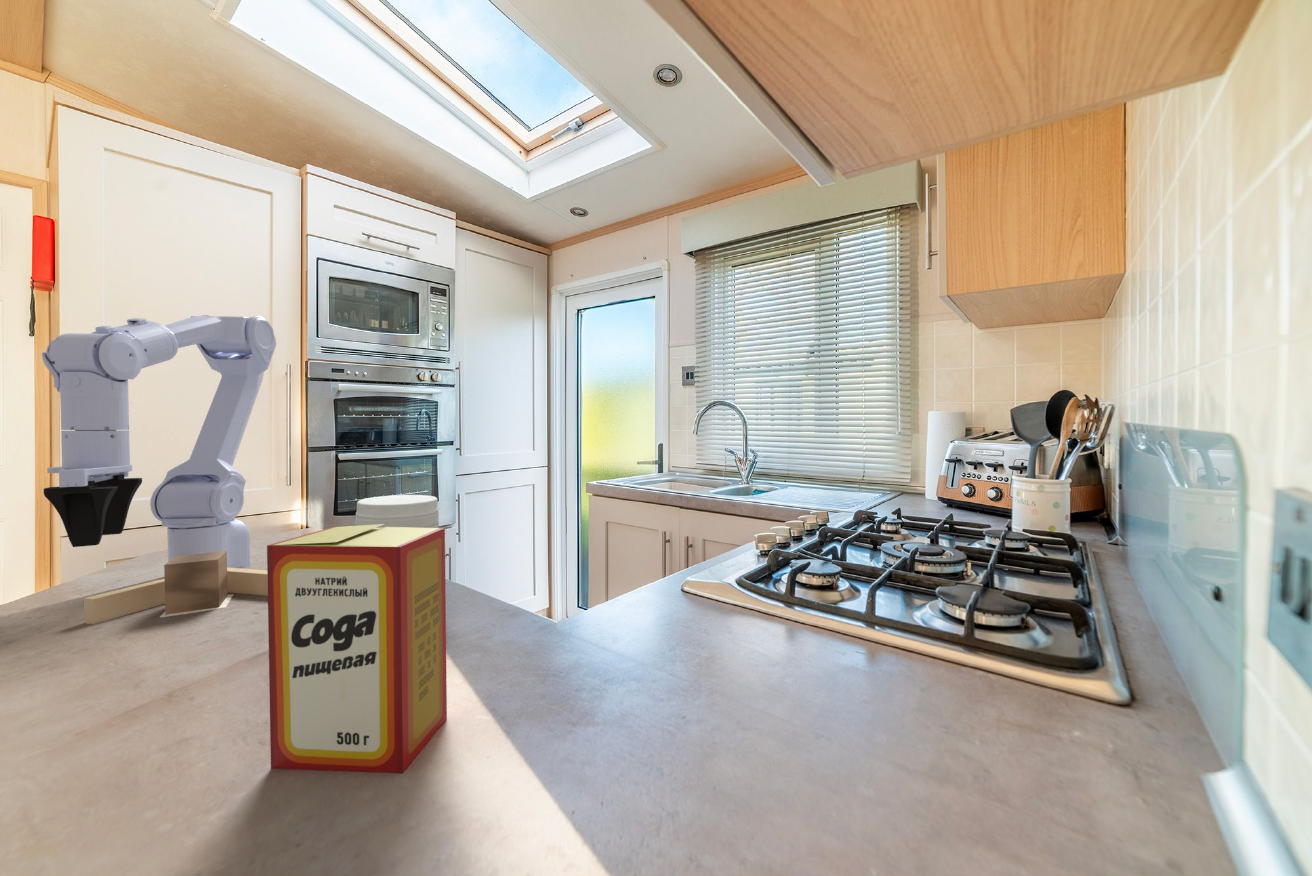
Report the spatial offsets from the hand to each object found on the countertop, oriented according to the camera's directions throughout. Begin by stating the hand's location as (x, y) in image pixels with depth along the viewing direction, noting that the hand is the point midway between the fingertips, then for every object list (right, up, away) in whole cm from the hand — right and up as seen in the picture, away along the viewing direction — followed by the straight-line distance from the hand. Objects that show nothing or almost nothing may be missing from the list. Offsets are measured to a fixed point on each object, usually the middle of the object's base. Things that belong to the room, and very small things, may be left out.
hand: (98, 539), depth 64 cm
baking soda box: (+47, -11, -25) cm, 55 cm away
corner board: (+14, -10, 0) cm, 17 cm away
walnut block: (+11, -9, +1) cm, 14 cm away
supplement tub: (+36, -10, +2) cm, 38 cm away
